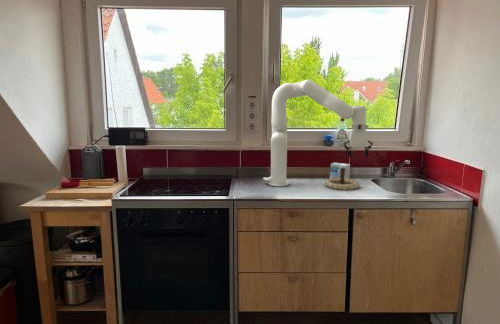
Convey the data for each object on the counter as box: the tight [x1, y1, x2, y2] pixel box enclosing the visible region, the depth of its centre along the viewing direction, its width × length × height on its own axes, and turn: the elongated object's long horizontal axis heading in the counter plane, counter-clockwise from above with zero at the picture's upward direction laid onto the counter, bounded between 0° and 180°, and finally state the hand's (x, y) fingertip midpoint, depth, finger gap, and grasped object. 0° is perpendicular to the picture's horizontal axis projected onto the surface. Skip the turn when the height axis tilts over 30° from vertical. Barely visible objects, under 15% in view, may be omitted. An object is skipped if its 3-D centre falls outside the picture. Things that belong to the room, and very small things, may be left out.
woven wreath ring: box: [324, 178, 361, 191], centre depth 203 cm, size 19×20×3 cm
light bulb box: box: [329, 162, 351, 179], centre depth 218 cm, size 11×7×11 cm, turn 55°
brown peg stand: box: [336, 167, 347, 184], centre depth 203 cm, size 7×7×11 cm
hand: (357, 156), depth 201 cm, fingers open, 9 cm apart
